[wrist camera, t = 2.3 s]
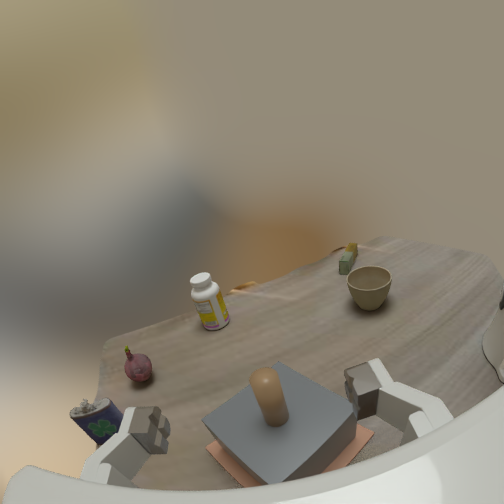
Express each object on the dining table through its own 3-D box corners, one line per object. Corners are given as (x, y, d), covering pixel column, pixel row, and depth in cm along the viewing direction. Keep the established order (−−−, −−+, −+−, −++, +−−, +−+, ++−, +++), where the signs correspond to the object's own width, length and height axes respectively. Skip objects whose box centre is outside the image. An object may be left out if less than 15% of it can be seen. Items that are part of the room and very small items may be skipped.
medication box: (348, 275, 73) (348, 262, 71) (339, 274, 74) (338, 261, 72) (358, 254, 81) (357, 242, 80) (349, 254, 83) (348, 242, 81)
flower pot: (394, 293, 60) (395, 266, 57) (385, 320, 53) (386, 292, 50) (355, 289, 66) (354, 263, 63) (342, 314, 59) (340, 287, 56)
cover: (355, 436, 32) (360, 363, 25) (285, 504, 25) (256, 463, 18) (287, 395, 43) (267, 319, 36) (222, 447, 35) (176, 382, 29)
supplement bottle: (222, 311, 72) (207, 267, 67) (235, 321, 66) (219, 275, 61) (199, 323, 69) (181, 279, 64) (211, 335, 63) (192, 288, 58)
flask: (134, 424, 42) (103, 388, 38) (137, 435, 39) (104, 400, 35) (96, 437, 39) (62, 403, 35) (97, 448, 36) (61, 415, 32)
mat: (374, 433, 32) (374, 432, 32) (285, 522, 22) (284, 522, 22) (288, 384, 45) (287, 383, 45) (205, 448, 36) (205, 447, 36)
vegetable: (137, 394, 49) (113, 360, 45) (131, 377, 54) (109, 344, 50) (162, 382, 52) (140, 347, 48) (154, 365, 57) (134, 331, 53)
